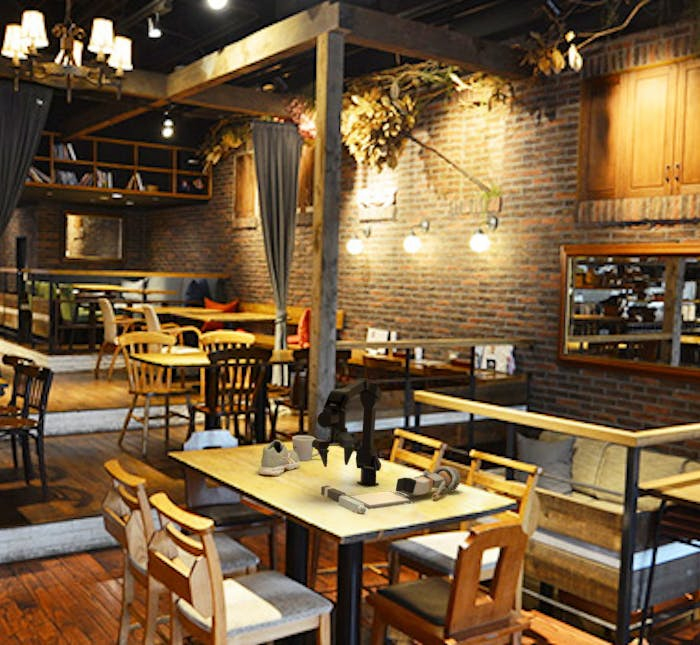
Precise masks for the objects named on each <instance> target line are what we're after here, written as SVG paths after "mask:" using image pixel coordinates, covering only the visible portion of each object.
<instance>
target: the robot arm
mask: <svg viewBox="0 0 700 645" xmlns="http://www.w3.org/2000/svg"><path fill="white" fill-rule="evenodd" d="M382 394H383V392H382V390H381V389H380V387H379V386H378V385H376V384H375V383H373V382H371V380H370V379H368V378H362V377H358V378H356V379H355V380H354V381H353V382H351V383H349V384H348V385H346V386H345V387H343V388H335V389H332V390H331V391H330V392H329V394H328V395H327V398H326V400H325V403H324V405H323V408H322V412H320V413H319V414H318V415H317V423H318V425H319V427H321V428H325V429H326V428H327V429H328V430H329V436H328V437H327V440H325V439H322V438H315V439H314V440H313V442H312V447H313V449H314V450H317V453H318V452H319V456H320V459H321V461H322V464H323V466H324V467H325V468H327V467H328V453H329V452H330V449H329V447H336V446H340V448H343V457H344V458H343V459H344V465H345V466H348V464H349V461H350V459H351V458H352V455H353V453H354V451H355V450H356V452H355V453H356V455H355V464H356V469H359V470H360V480H359V481H357V484H359V485H362V486H364V487H370V486H371V487H372V486H379V485H380V484H379V483H378V482H377V472H378V471H379V472H380V471H381V468H382V463H381V461H380V459H379V457H378V450H377V447H376V446H375V429H376V411H377V407H378V406H379V405H380V403H381V399H382V396H383V395H382ZM355 396H359V401H360V404H361V406H362V407H363V414H362V416H363V417H362V431H361V432H362V434H361V439H360V438H359V434H357V432H353V433H352V432H351V433H349V432H348V431H349V429H348V427H346V420H347V412H349V408H348V405H350V404H351V403H352V398H354V397H355Z"/></svg>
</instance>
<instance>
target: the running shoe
mask: <svg viewBox="0 0 700 645" xmlns="http://www.w3.org/2000/svg"><path fill="white" fill-rule="evenodd" d="M261 455H262V456H261V463H260V467H259V470H258V474H259V475H260V476H270V475H271V477H272V476H273V477H280V476H282V475H283V473H284V471H293V470H295V469H294V468H297V469H298V467H299V468H300V461H299V457H298V454H297V453H296V452H295V451H293V450H292V449H287V445H286V444H283V442H282V440H279V439H274V440H273V441H272V442H270V443H269V444H268V445H267V446H264V447H263V449H262V454H261ZM292 469H293V470H292ZM281 474H282V475H281ZM279 475H280V476H279Z"/></svg>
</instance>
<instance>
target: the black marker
mask: <svg viewBox="0 0 700 645" xmlns="http://www.w3.org/2000/svg"><path fill="white" fill-rule="evenodd" d="M320 490H321V491H320V494H321V495H322V496H324V495H325V496H324V497H326V496H327V497H326V498H328V497H329V498H328V499H330V498H331V500H333V501H335V502H337V503H339V496H347V495H346V493H345V492H343V491H342V490H339V489H336V488H335V487H333V486H330V485H324V486H323V485H322V486H321V487H320Z"/></svg>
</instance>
